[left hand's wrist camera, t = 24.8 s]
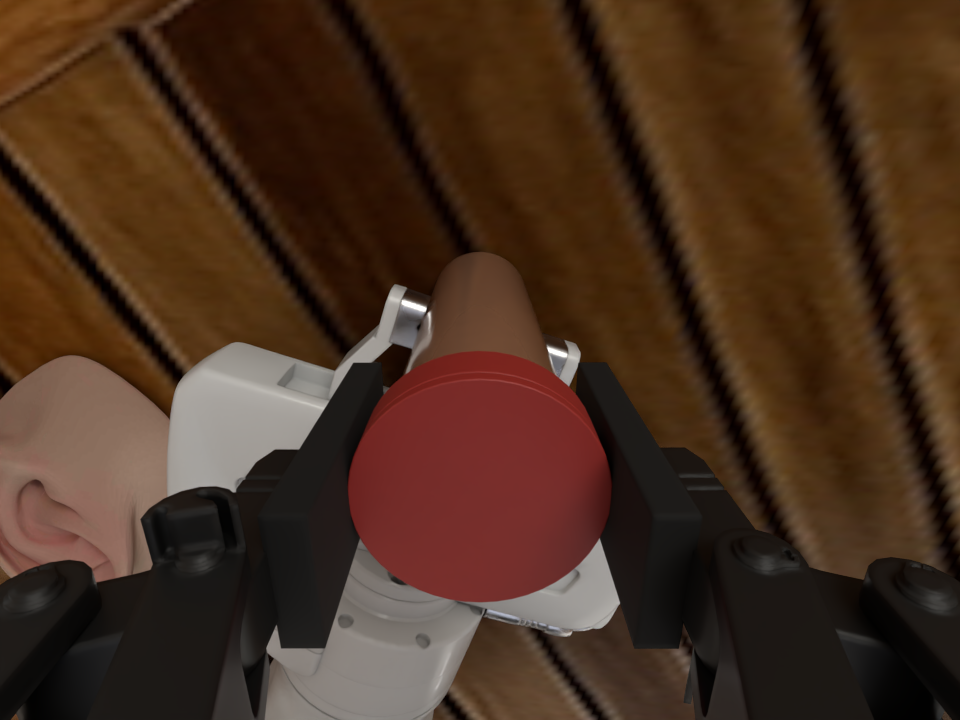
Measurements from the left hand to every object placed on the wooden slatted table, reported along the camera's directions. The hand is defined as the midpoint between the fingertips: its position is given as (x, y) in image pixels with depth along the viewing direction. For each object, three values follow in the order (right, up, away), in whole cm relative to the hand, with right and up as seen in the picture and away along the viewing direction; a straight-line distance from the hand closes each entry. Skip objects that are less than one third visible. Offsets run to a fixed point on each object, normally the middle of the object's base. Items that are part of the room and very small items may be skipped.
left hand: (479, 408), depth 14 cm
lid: (0, -1, -4) cm, 4 cm away
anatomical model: (-21, -5, +15) cm, 27 cm away
